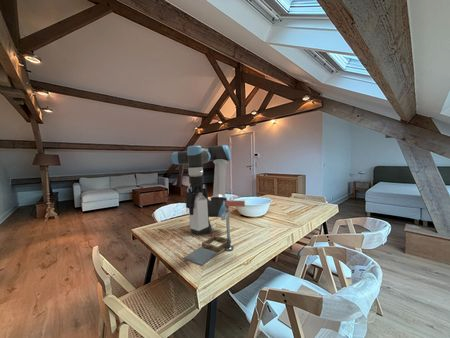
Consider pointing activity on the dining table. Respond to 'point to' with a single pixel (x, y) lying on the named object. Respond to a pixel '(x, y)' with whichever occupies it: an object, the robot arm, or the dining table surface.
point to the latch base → (229, 248)
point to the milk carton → (199, 213)
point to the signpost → (227, 213)
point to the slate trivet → (200, 256)
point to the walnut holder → (212, 247)
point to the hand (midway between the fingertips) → (198, 218)
